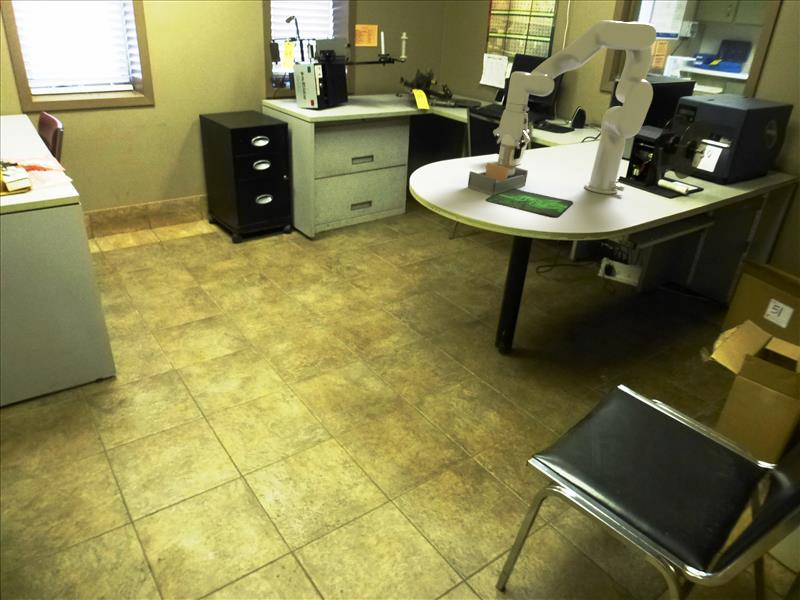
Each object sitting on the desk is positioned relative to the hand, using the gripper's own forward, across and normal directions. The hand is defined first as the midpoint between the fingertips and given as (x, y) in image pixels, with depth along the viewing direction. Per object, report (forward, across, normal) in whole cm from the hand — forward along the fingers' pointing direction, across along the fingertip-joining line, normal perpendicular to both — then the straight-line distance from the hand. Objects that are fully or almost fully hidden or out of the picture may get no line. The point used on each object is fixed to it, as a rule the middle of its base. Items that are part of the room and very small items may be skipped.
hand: (508, 155), depth 218 cm
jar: (+11, +18, -32) cm, 38 cm away
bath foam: (+7, 0, 0) cm, 7 cm away
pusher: (+10, 0, +8) cm, 13 cm away
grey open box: (+11, 0, +4) cm, 12 cm away
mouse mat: (+12, -18, +10) cm, 24 cm away
